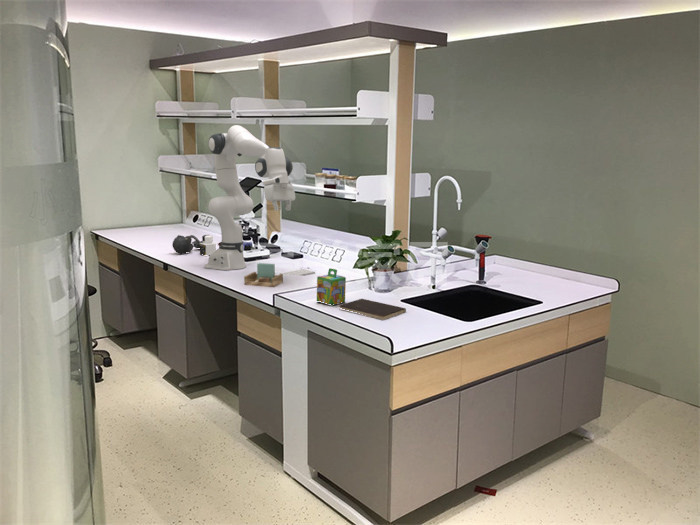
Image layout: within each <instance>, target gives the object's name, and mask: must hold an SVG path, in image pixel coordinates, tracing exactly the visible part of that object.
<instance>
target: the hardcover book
mask: <svg viewBox="0 0 700 525" xmlns="http://www.w3.org/2000/svg"><path fill="white" fill-rule="evenodd" d="M338 307H339V309H340V308H342V309H345V310H349V311H353V312H357V313H360V314H363V315H362V316H365V315H366V317H369V316H370V318H373V319H378V320H382V321H383V320H386V319H390V318H392V317H395V316H398V315H400V314H404V313H406V312H407V308H406V307H402V306H396V305H394V304H393V305H392V304H388V303H385V302H384V303H383V302H380V301H374V300H369V299H366V298H358V299H356V300H353V301H349V302H345V303H341V304H338ZM360 314H359V315H360Z"/></svg>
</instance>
